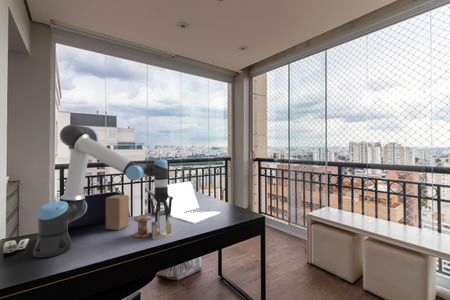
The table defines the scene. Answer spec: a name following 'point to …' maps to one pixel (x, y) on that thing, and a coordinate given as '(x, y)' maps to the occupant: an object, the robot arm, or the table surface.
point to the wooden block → (117, 212)
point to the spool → (142, 226)
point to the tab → (161, 222)
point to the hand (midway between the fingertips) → (161, 226)
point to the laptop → (185, 203)
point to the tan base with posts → (156, 233)
